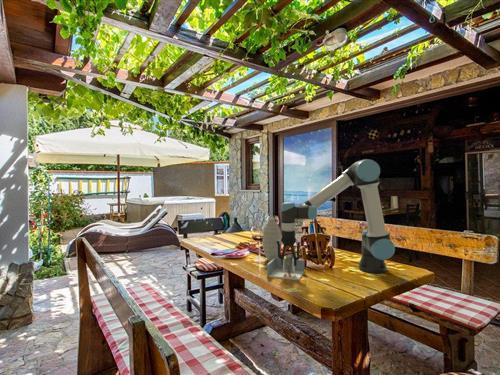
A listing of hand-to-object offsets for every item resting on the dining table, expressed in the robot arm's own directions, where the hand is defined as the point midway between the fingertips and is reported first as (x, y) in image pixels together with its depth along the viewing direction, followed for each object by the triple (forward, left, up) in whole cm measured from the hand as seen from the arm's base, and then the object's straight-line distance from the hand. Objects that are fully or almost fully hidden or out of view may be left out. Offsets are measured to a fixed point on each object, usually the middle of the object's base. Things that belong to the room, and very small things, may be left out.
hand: (288, 271), depth 167 cm
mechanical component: (0, 0, -2) cm, 2 cm away
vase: (+18, -27, -3) cm, 33 cm away
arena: (+2, -1, -3) cm, 4 cm away
